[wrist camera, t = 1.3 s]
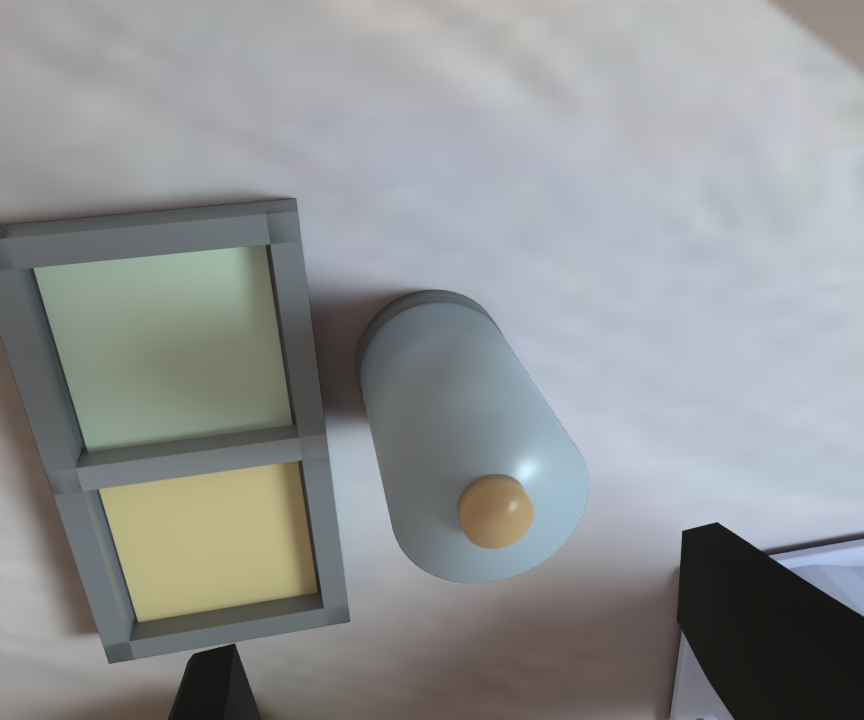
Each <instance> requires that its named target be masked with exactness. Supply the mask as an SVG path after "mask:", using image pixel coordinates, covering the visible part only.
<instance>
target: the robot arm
mask: <svg viewBox="0 0 864 720" xmlns="http://www.w3.org/2000/svg"><path fill="white" fill-rule="evenodd" d="M677 621H678V623H679V625H680V627H681V629H682V634H681V641H680V648H679V656H678V663H677V670H676V678H675V685H674V692H673V700H672V707H671V714H670V720H864V539H860V540H854V541H849V542H843V543H837V544H832V545H826V546H820V547H815V548H809V549H803V550H797V551H792V552H786V553H780V554H775V555H769V556H768V555H766V554H765V553H763V552H762V551H760V550H759V549H757V548H756V547H754V546H753V545H751V544H750V543H748V542H747V541H745V540H744V539H742V538H741V537H739V536H738V535H736V534H735V533H733V532H732V531H730V530H728V529H727V528H725V527H724V526H722V525H721V524H719V523H718V522H716V523H712V524H708V525H704V526H700V527H696V528H692V529H688V530H684V531H682V546H681V562H680V579H679V596H678V612H677ZM168 720H261V717H260V714H259V711H258V708H257V705H256V703H255V700H254V697H253V694H252V691H251V688H250V685H249V682H248V679H247V677H246V674H245V671H244V668H243V665H242V662H241V659H240V656H239V654H238V651H237V648H236V645H235V644H231V645H227V646H223V647H219V648H215V649H211V650H207V651H203V652H199V653H195V654H193V655H192V657H191V658H190V659H189V661H188V663H187V666H186V669H185V672H184V675H183V678H182V681H181V684H180V687H179V690H178V693H177V696H176V699H175V701H174V704H173V707H172V710H171V712H170V715H169V718H168Z"/></svg>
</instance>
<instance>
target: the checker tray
mask: <svg viewBox="0 0 864 720" xmlns="http://www.w3.org/2000/svg"><path fill="white" fill-rule="evenodd" d="M0 336H1V339H2V342H3V345H4V348H5V351H6V354H7V357H8V360H9V363H10V366H11V369H12V372H13V375H14V378H15V381H16V384H17V387H18V390H19V393H20V396H21V399H22V402H23V405H24V408H25V411H26V415H27V418H28V421H29V424H30V427H31V430H32V433H33V436H34V439H35V442H36V445H37V448H38V451H39V454H40V457H41V460H42V463H43V466H44V469H45V472H46V475H47V478H48V481H49V484H50V487H51V490H52V493H53V496H54V499H55V502H56V505H57V508H58V511H59V514H60V517H61V520H62V523H63V526H64V529H65V532H66V535H67V538H68V541H69V544H70V547H71V551H72V554H73V557H74V560H75V563H76V566H77V569H78V572H79V575H80V578H81V581H82V584H83V587H84V590H85V593H86V596H87V599H88V602H89V605H90V608H91V611H92V614H93V617H94V620H95V623H96V626H97V629H98V632H99V635H100V638H101V641H102V644H103V647H104V650H105V653H106V656H107V659H108V662H109V664H111V663H117V662H123V661H128V660H134V659H140V658H146V657H151V656H157V655H163V654H169V653H174V652H180V651H186V650H192V649H197V648H203V647H209V646H214V645H220V644H226V643H232V642H237V641H243V640H249V639H255V638H260V637H266V636H272V635H278V634H283V633H289V632H295V631H300V630H306V629H312V628H318V627H323V626H329V625H335V624H341V623H346V622H350V618H349V609H348V601H347V593H346V585H345V577H344V569H343V562H342V554H341V546H340V538H339V530H338V523H337V515H336V507H335V499H334V491H333V483H332V476H331V468H330V460H329V452H328V444H327V437H326V429H325V421H324V413H323V405H322V398H321V390H320V382H319V374H318V366H317V358H316V351H315V343H314V335H313V327H312V319H311V312H310V304H309V296H308V288H307V280H306V272H305V265H304V257H303V249H302V241H301V233H300V226H299V218H298V210H297V202H296V198H294V199H283V200H272V201H261V202H250V203H239V204H228V205H217V206H207V207H196V208H185V209H174V210H163V211H152V212H141V213H130V214H119V215H108V216H98V217H87V218H76V219H65V220H54V221H43V222H32V223H21V224H10V225H0Z"/></svg>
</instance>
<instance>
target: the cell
mask: <svg viewBox="0 0 864 720" xmlns="http://www.w3.org/2000/svg"><path fill="white" fill-rule="evenodd" d="M357 373H358V378H359V383H360V387H361V392H362V395H363V398H364V402H365V406H366V411H367V415H368V420H369V424H370V429H371V433H372V438H373V442H374V447H375V451H376V456H377V461H378V465H379V470H380V474H381V479H382V483H383V488H384V492H385V497H386V501H387V506H388V510H389V515H390V519H391V524H392V528H393V532H394V535H395V537H396V540H397V542H398V544H399V546H400V548H401V549H402V551H403V552H404V553H405V555H406V556H407V557H408V558H409V559H410V560H411V561H412V562H413V563H414V564H415V565H417V566H418V567H419V568H421V569H422V570H424V571H426V572H428V573H430V574H432V575H434V576H436V577H439V578H442V579H445V580H449V581H454V582H460V583H486V582H494V581H498V580H503V579H506V578H510V577H513V576H516V575H518V574H521V573H523V572H525V571H527V570H529V569H531V568H533V567H535V566H536V565H538V564H540V563H541V562H543V561H544V560H546V559H547V558H548V557H550V556H551V555H552V554H553V553H554V552H556V551H557V550H558V549H559V548H560V547H561V546H562V545H563V544H564V543H565V542H566V541H567V539H568V538H569V537H570V535H571V534H572V533H573V531H574V530H575V528H576V527H577V525H578V523H579V521H580V519H581V517H582V515H583V512H584V510H585V506H586V503H587V499H588V491H589V478H588V472H587V467H586V464H585V462H584V459H583V457H582V455H581V453H580V451H579V449H578V448H577V446H576V445H575V443H574V442H573V440H572V439H571V437H570V436H569V434H568V433H567V431H566V430H565V428H564V427H563V425H562V424H561V422H560V421H559V419H558V418H557V416H556V415H555V413H554V412H553V410H552V409H551V407H550V406H549V404H548V403H547V401H546V400H545V398H544V397H543V395H542V394H541V392H540V391H539V389H538V388H537V386H536V385H535V383H534V382H533V380H532V379H531V377H530V376H529V374H528V373H527V371H526V370H525V368H524V367H523V365H522V364H521V362H520V361H519V359H518V358H517V356H516V355H515V353H514V352H513V350H512V349H511V347H510V346H509V344H508V343H507V341H506V340H505V338H504V336H503V335H502V333H501V331H500V329H499V328H498V326H497V325H496V323H495V322H494V320H493V319H492V318H491V316H490V315H489V314H488V312H487V311H486V310H485V309H484V308H483V307H482V306H480V305H479V304H478V303H476V302H475V301H473V300H472V299H470V298H468V297H466V296H464V295H461V294H458V293H455V292H450V291H444V290H426V291H421V292H416V293H412V294H409V295H406V296H404V297H402V298H400V299H397V300H396V301H394V302H392V303H391V304H389V305H388V306H387V307H385V308H384V309H383V310H381V311H380V312H379V313H378V314H377V315H376V316H375V317H374V319H373V320H372V321H371V322H370V324H369V325H368V327H367V328H366V330H365V332H364V334H363V336H362V338H361V341H360V344H359V347H358V352H357Z"/></svg>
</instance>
